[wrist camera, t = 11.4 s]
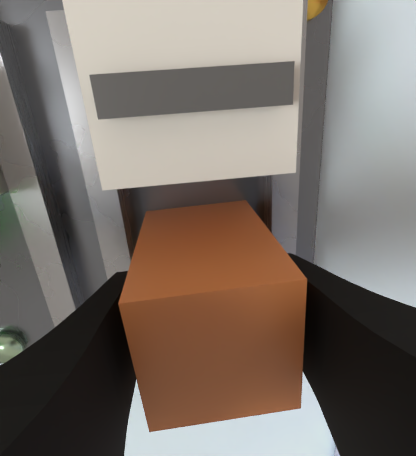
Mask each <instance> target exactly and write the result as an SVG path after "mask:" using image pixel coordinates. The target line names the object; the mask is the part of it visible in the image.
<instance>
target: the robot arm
mask: <svg viewBox="0 0 416 456" xmlns="http://www.w3.org/2000/svg"><path fill="white" fill-rule="evenodd" d="M287 254H288V255H289V256H290V258H291V259H292V260H293V261H294V263H295V264H296V265H297V267H298V268H299V269H300V270H301V272H302V273H303V274H304V276H305V277H306V278H307V293H306V313H305V333H304V353H303V372H304V374H305V376H306V378H307V380H308V382H309V384H310V386H311V388H312V390H313V392H314V394H315V396H316V398H317V400H318V402H319V405H320V407H321V410H322V412H323V415H324V417H325V420H326V422H327V425H328V427H329V429H330V432H331V434H332V437H333V439H334V442H335V445H336V446H335V453H334V456H416V308H415V307H412V306H409V305H406V304H403V303H401V302H398V301H395V300H392V299H390V298H387V297H384V296H381V295H379V294H376V293H374V292H371V291H369V290H367V289H365V288H362V287H360V286H358V285H355V284H353V283H351V282H349V281H347V280H345V279H342V278H340V277H338V276H336V275H334V274H332V273H330V272H328V271H326V270H324V269H322V268H320V267H318V266H316V265H315V264H313V263H311V262H309V261H307V260H305V259H303V258H301V257H299V256H297V255H294V254H292V253H287ZM127 273H128V271H123V272H116V273H115V274H114V275H113V276H112V277H110V278H109V279H108V280H107V281H106V282H105V283H104V284H103V285H102V286H101V287H100V288H99V289H98V290H97V291H96V292H95V293H94V294H93V295H91V296H90V297H89V298H88V299H87V300H86V301H85V302H84V303H83V304H82V305H81V306H80V307H78V308H77V309H76V310H75V311H74V312H73V313H71V314H70V315H69V316H68V317H67V318H65V319H64V320H63V321H62V322H61V323H60V324H58V325H57V326H56V327H55V328H53V329H52V330H51V331H50V332H48V333H47V334H46V335H44V336H43V337H42V338H40V339H39V340H38V341H36V342H35V343H33V344H32V345H31V346H29V347H28V348H26V349H25V350H24V351H22V352H21V353H19V354H18V355H16V356H15V357H13V358H12V359H10V360H8V361H7V362H5V363H4V364H2V365H0V456H124V450H125V440H126V431H127V425H128V418H129V412H130V407H131V402H132V398H133V393H134V388H135V383H136V375H135V371H134V366H133V362H132V358H131V354H130V350H129V346H128V342H127V338H126V333H125V329H124V325H123V321H122V317H121V313H120V309H119V305H118V303H119V300H120V296H121V293H122V290H123V286H124V283H125V280H126V276H127Z"/></svg>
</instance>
